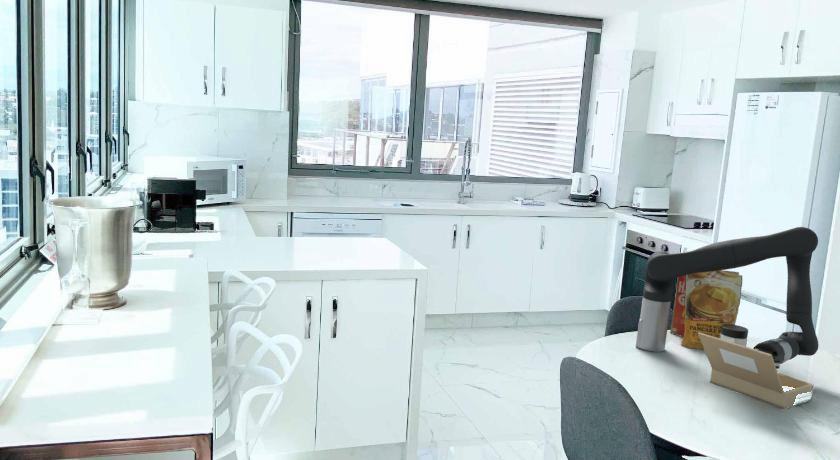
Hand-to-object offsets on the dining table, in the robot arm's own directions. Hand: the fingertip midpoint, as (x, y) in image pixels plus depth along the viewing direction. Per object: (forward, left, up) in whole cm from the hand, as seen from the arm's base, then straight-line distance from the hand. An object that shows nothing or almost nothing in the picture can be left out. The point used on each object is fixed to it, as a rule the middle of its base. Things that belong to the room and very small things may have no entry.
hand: (742, 363), depth 195 cm
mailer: (+6, +11, -10) cm, 16 cm away
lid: (-1, -1, +1) cm, 1 cm away
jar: (-2, +35, -10) cm, 36 cm away
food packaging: (-15, +62, -10) cm, 64 cm away
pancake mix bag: (-10, +48, -10) cm, 50 cm away
